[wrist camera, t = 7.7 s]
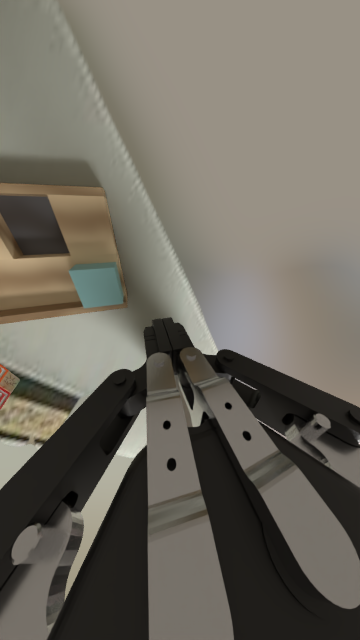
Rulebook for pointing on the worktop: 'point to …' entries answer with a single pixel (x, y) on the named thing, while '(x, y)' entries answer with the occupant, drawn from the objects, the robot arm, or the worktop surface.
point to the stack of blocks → (6, 384)
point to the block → (97, 284)
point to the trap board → (51, 248)
